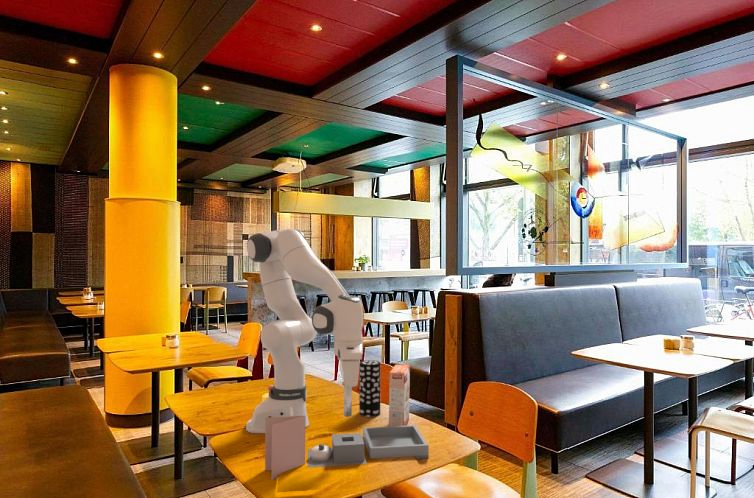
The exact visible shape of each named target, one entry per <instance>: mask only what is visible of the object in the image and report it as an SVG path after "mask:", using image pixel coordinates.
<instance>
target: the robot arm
mask: <svg viewBox="0 0 754 498" xmlns="http://www.w3.org/2000/svg"><path fill="white" fill-rule="evenodd" d="M246 251H247V255H248V257H249V258H250V259H251V260H252V262H254V263H255V262H256V263H259V267H258V268H259V278H260V282H261V287H262V290H263V295H264V298H265V302H266V305H267V308H268V309H269V310H271V311H272V312H273V313H275V314H276V316H277V318H278V319H277V320H273V321H271V322H270V323H267V324H266V325H264V327H263V328H262V329H261V332H260V341H261V344H262V345H263V347H264V349H266V350H267V351H268V352H269V354H270V356H271V358H272V362H273V363H272V364H273V368H274V369H273V370H274V385H273V384H270V385H269V386H268V387H267V388H268V389H267V390H268V397H267V398H265V399H264V400H263V401H262V402H260V403H259V404H257V406H256V407H255V409H254V411H253V414H252V418H250V419H249V420H248V421H246V425H245V430H246V432H247V431H248V432H247V433H249V432H250V433H249V434H265V426H266V418H269V417H289V416H306V419H305V428H307V427H308V426H309V425H310V422H309V417H308V414H307V413H308V412H307V406H306V405H307V404H306V401H307V385H306V364H305V362H304V361H303V360H301V359H300V356H299V355H298V349H297V348H298V347H301V346H305V345H307V344H309V343H311V342H312V341H313V340H315V339H316V337H317V335H318V334H319V335H324V336H328V335H333V336H334V337H333V354H334V355H335V356H336V357H337V360H338V361H339V372H340V374H341V378H342V382H344V384H345V388H346V389H345V394H346V396H351V395H352V396H353V387H357V386H358V384H359V377H360V362H361V361H362V359H363V354H364V337H363V336H364V335H363V327H364V320H365V314H364V310H363V309H364V308H363V303H362V300H361V299H360V297H358V296H356V295H352V294H351V295H350V294H349V293H348V292H347V290H346V289H345V288H344V286H343V285H342V284H341V282H340V281H339V279H338V277H336V275H335V274H334V273H333V272H332V270H331V269H329V267H328V266H326V265H325V264H323V262H322V261H321V260H320V259H319V258H318V257H317V256H316V255H315V253H314V251H313V250H312V248H311V246H310V244H309V243H308V241H307V239H306V236H305V234H304V233H303V232H302V231H301V230H300V229H296V228H287V229H275V230H272V231H271V230H270V231H266V232H262V233H255V234H252V235H250V236H249V238H248V240H247V242H246ZM292 279H293V280H294V281H295V282H299V283H303V284H308V285H310V286H314V287H317V288H319V289H321V291H323V292H324V293H325V294H326V296H327V297H328V298H329V300H330V302H328V303H324V304H320V305H318V306H316V308H315V309H314V310H313V312H312V315H311V317H310V316H308V315H307V313H306V312H305V310H304V309H303V307H302V305H301V304H300V302H299V300H298V298H297V293H296V290H295V287H294V285H293V280H292ZM360 360H361V361H360Z"/></svg>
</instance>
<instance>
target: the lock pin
mask: <svg viewBox="0 0 754 498" xmlns="http://www.w3.org/2000/svg"><path fill="white" fill-rule="evenodd" d="M341 385H342V386H343V417H346V418H349V417H350V418H351V417H352V413H353V411H352V410H353V408H352V407H353V401H352V400H353V394H352V395H351V396H346V394H345V389H346V388H345V384H344V381H342V383H341Z"/></svg>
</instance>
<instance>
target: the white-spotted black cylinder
mask: <svg viewBox="0 0 754 498" xmlns="http://www.w3.org/2000/svg"><path fill="white" fill-rule="evenodd" d="M381 364H382V363H381V361H379V360H371V359H369V360H361V361H360V365H359V391H358V392H359V397H358V398H359V407H358V408H359V409H358V411H359V412H358V413H359V415H360V416H362V417H365V416H366V418H367V417H368V418H373V417H378V416H380V415H381V390H382V389H381V386H382V385H381V373H382V372H381V370H382V369H381Z"/></svg>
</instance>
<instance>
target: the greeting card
mask: <svg viewBox="0 0 754 498" xmlns="http://www.w3.org/2000/svg"><path fill="white" fill-rule="evenodd" d="M305 419H306V416H289V417H269V418H266V426H265V433H264V435H265V438H264V439H265V440H264V441H265V443H264V444H265V446H264V452H265V454H264V456H265V457H264V458H265V459H264V460H265V461H264V470H265V471H271V472H270V473H271V478H270V480H271V479H272V480H275V479H277V477H278V478H279V477H280V474H282V473H284V472H287V471H290V470H293V469H295V468H298V467H301V466H303V465H306V427H305ZM274 478H275V479H274Z"/></svg>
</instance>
